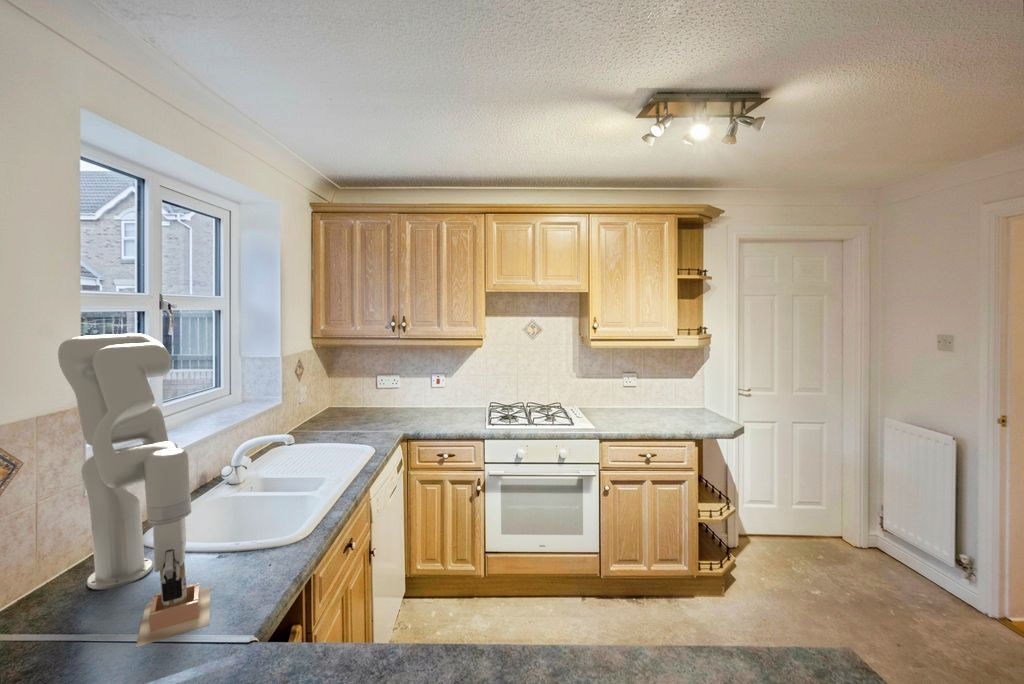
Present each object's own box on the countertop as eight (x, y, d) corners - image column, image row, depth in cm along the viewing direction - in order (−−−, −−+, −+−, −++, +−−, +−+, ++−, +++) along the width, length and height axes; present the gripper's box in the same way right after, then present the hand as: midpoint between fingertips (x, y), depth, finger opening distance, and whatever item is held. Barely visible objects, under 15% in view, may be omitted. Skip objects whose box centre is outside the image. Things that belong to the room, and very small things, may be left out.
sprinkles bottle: (188, 615, 101) (183, 554, 100) (161, 623, 98) (156, 561, 97) (188, 603, 105) (184, 545, 103) (163, 611, 102) (158, 551, 101)
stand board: (146, 608, 105) (146, 603, 105) (210, 591, 111) (210, 586, 111) (136, 653, 92) (135, 647, 91) (209, 630, 98) (209, 624, 98)
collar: (154, 610, 103) (153, 594, 102) (200, 597, 107) (199, 582, 107) (150, 631, 96) (149, 615, 95) (199, 617, 100) (198, 601, 100)
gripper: (151, 498, 105) (156, 573, 106) (141, 530, 90) (147, 615, 92) (192, 491, 109) (197, 563, 110) (189, 520, 94) (194, 602, 96)
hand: (174, 587), depth 101 cm, fingers open, 9 cm apart
